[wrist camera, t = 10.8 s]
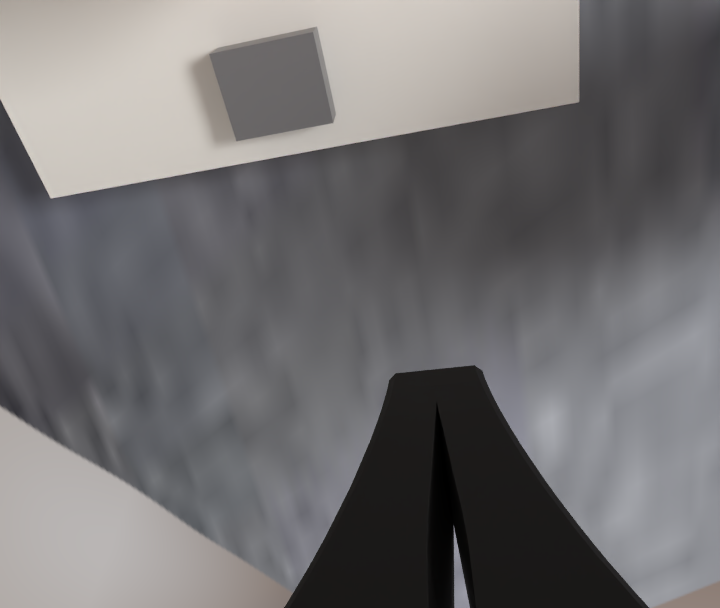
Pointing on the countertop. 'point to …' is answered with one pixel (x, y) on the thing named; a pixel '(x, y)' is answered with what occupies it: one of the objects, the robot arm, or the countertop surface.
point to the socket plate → (264, 77)
